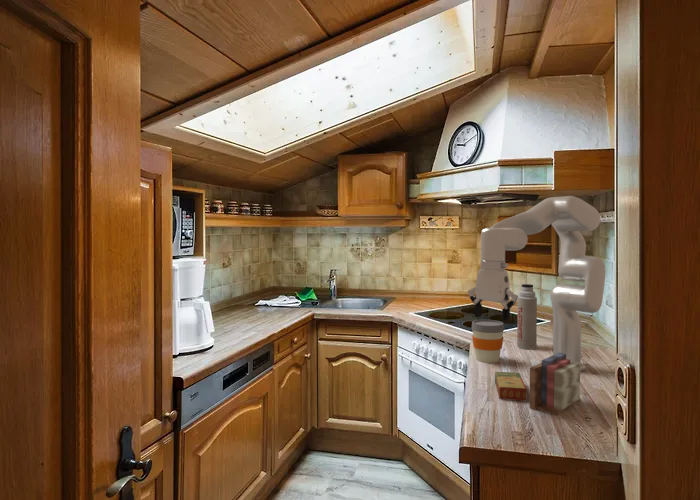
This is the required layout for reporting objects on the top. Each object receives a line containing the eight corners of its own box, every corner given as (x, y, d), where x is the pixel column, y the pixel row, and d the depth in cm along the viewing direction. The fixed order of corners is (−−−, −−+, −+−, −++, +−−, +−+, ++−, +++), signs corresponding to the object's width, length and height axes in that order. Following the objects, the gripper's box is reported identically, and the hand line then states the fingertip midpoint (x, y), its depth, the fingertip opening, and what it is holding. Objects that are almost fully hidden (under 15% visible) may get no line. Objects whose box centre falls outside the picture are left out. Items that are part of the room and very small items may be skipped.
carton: (498, 399, 138) (498, 386, 138) (494, 382, 154) (494, 370, 154) (527, 401, 136) (527, 388, 136) (519, 384, 152) (519, 371, 152)
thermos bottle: (520, 349, 193) (521, 285, 192) (514, 344, 201) (515, 283, 200) (539, 349, 193) (539, 285, 192) (532, 344, 201) (533, 283, 200)
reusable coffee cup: (472, 353, 188) (472, 318, 187) (503, 356, 184) (504, 320, 183) (470, 362, 176) (470, 324, 175) (503, 365, 172) (504, 326, 171)
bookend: (556, 392, 143) (557, 350, 142) (582, 399, 137) (583, 355, 136) (529, 408, 131) (529, 361, 130) (556, 416, 125) (556, 367, 124)
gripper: (523, 267, 140) (522, 321, 141) (475, 264, 153) (474, 313, 153) (512, 268, 135) (510, 324, 136) (462, 265, 148) (462, 316, 148)
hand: (491, 318), depth 145 cm, fingers open, 9 cm apart
